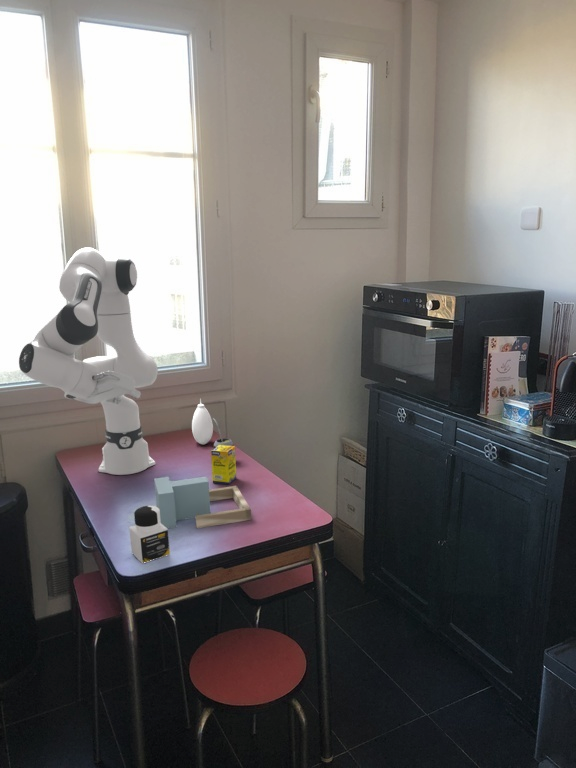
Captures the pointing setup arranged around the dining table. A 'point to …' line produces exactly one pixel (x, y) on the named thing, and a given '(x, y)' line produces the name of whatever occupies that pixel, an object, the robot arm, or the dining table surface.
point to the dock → (225, 516)
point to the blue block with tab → (181, 499)
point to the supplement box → (223, 464)
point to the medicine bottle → (148, 535)
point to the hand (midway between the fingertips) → (129, 398)
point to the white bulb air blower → (202, 425)
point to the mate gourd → (222, 439)
